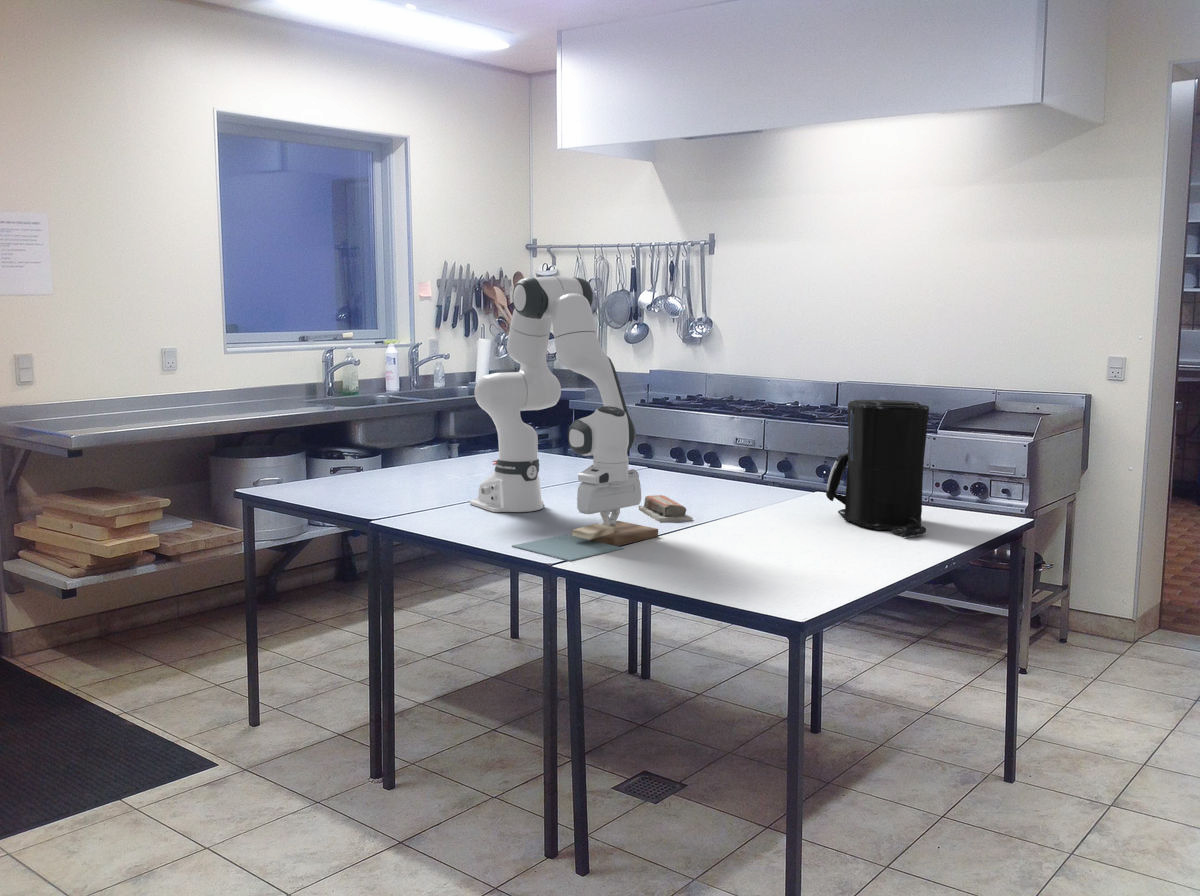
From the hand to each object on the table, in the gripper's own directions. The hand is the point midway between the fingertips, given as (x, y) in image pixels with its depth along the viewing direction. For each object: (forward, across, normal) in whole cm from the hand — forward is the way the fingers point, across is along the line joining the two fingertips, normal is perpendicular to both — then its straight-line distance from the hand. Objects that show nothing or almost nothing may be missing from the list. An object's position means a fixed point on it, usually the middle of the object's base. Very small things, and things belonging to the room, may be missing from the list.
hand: (609, 527), depth 260 cm
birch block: (+1, +6, 0) cm, 6 cm away
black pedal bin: (+3, -65, +37) cm, 75 cm away
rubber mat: (+3, +15, 0) cm, 15 cm away
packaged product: (+4, -33, -10) cm, 35 cm away
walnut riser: (+3, -2, 0) cm, 4 cm away
